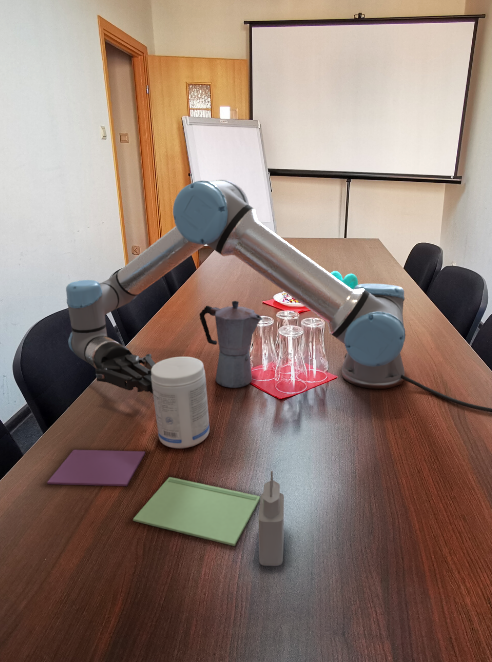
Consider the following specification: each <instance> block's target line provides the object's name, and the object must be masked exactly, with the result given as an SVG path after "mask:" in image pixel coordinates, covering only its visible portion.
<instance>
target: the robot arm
mask: <svg viewBox="0 0 492 662" xmlns="http://www.w3.org/2000/svg"><path fill="white" fill-rule="evenodd" d="M172 216H173V220H174V224H175V226H174V227H173V228H172V229H170V230H169V231H167V232H166V233H165V234H164V235H162V236H161V237H160V238H158V239H157V240H156V241H155V242H154V243H152V244H151V245H150V246H148V247H147V248H146V249H145V250H143V251H142V252H141V253H140V254H139V255H137V256H136V257H134V258H133V259H132V260H131V261H129V262H128V263H127V264H126V265H124V266H123V267H122V268H121V269H119V270H118V271H117V272H116V273H114V274H113V275H112V276H111V277H109V278H108V279H106V280H104V281H102V282H99V281H97V280H92V279H81V280H76V281H72V282H70V283H68V284H67V285H66V288H65V292H66V305H67V310H68V315H69V319H70V326H71V332H70V334H69V337H68V339H67V341H68V347H69V349H70V350H71V351H72V353H74V355H75V356H76V357H78V358H79V359H81V360H83V361H85V362H86V363H87V364H89V365H90V366H92V367H93V368H94V369H95V370H94V371H95V376H96V377H95V378H96V381H97V382H101V383H107V384H110V385H111V386H112V385H113V386H115V387H118V388H121V389H124V390H127V391H133V390H134V389H135V388H136V389H137V392H138V393H142V392H146V393H148V392H149V393H151V394H152V395H153V389H152V379H151V375H152V374H151V369H152V367H153V366H154V365H155V364H156V363H155V361H154V360H153V356H152V354H151V353H147V354H145V356H142V357H140V356H139V355H137V354H133V353H132V351H131V350H130V349H129V348H128V347H126V346H125V345H123V344H121V343H119V342H118V341H116V340H114V339H112V338H111V337H109V336H108V333H107V332H108V331H107V322H106V315H107V314H109V313H111V312H113V311H115V310H117V309H118V308H122V307H124V306H126V305H128V304H129V303H131V302H132V301H134V300H135V299H136V298H137V297H138V296H139V294H141V293H142V292H143V291H145V290H146V289H148V288H149V287H150V286H151V285H153V284H154V283H156V282H157V281H158V280H160V279H161V278H162V277H164V276H165V275H167V274H168V273H169V272H171V271H172V270H173V269H174V268H176V267H177V266H179V265H180V264H181V263H183V262H184V261H185V260H187V259H188V258H190V257H191V256H192V255H193V254H195V253H196V252H198V251H199V250H200V249H202V248H203V247H204V246H208V247H209V248H211V249H212V250H213V251H214V252H216V253H218V254H219V255H220V256H222V257H228V256H235V257H236V258H237V259H239V260H240V261H242V262H243V263H244V264H245V265H247V266H248V267H250V269H252V270H254V271H256V273H258V274H259V275H261V276H262V277H263V278H265V279H266V280H268V281H269V282H270V283H272V284H273V285H275V286H276V287H277V288H279V289H280V290H281V291H283V292H284V293H285V294H287V295H288V296H289V297H291V298H293V299H294V300H295V301H297V302H298V303H299V304H301V305H302V306H304V307H305V308H307V309H308V310H309V311H310V312H312V313H313V314H315V315H316V316H317V317H319V318H320V319H322V320H323V321H324V322H325V323H327V327H328V333H329V334H330V335H331V336H333V337H334V338H336V339H337V340H338V341H339V342H341V343H343V344H344V347H345V351H346V352H347V353H345V354H344V355H345V356H344V360H343V363H342V366H341V376H342V378H343V379H344V380H345V381H347V382H348V383H349V384H351V385H354V386H357V387H360V388H365V389H370V390H371V389H372V390H382V389H383V390H385V389H391V388H394V387H397V386H399V385H401V384H402V383H404V381H405V382H407V383H410V384H412V385H414V386H415V387H417V388H419V389H421V390H423V391H425V392H428V393H429V394H432V395H435V396H436V397H439V398H441V399H443V400H446V401H448V402H450V403H452V404H456V405H458V406H462V407H466V408H469V409H473V410H478V411H483V412H487V413H488V412H489V413H492V408H491V407H488V406H487V407H486V406H482V405H478V404H473V403H470V402H465V401H463V400H459V399H456V398H454V397H451V396H448V395H446V394H443V393H441V392H439V391H436V390H434V389H432V388H430V387H428V386H425V385H424V384H422V383H420V382H418V381H416V380H414V379H412V378H410V377H408V376H406V375H405V373H406V371H405V367H404V363H403V359H402V354H401V352H402V350H403V348H404V344H405V341H406V328H405V324H404V323H405V322H404V315H403V313H404V301H405V299H406V298H405V289H404V288H403V287H401V286H398V285H395V284H394V285H393V284H387V283H360V284H359V283H358V285H357V286H355V288H354V289H351V288H349V287H348V286H347V285H345V284H344V283H343V282H341V281H340V280H338V279H337V278H336V277H334V276H333V275H332V274H330V273H331V272H329V271H328V270H327V269H325V268H323V267H322V266H321V265H319V264H318V263H317V262H315V261H314V260H312V258H310V257H308V255H306V254H304V253H303V252H301V251H300V250H299V249H297V248H296V247H295V246H293V245H292V244H291V243H289V242H288V241H286V240H285V239H284V238H282V236H279V235H278V234H277V233H276V232H274V230H271V228H269V227H267V226H265V225H264V224H263V223H262V222H261V221H259V219H258V215H257V209H255V208H254V207H252V206H251V205H249V199H248V196H247V195H246V192H245V191H244V190H243V189H242V188H241V187H240V185H238V184H236V183H235V182H233V181H231V180H227V179H216V180H197V181H193V182H192V183H189V184H187V185H185V186H184V187H183V188H182V189H181V190H180V191H179V192H178V193H177V195H176V197H175V199H174V202H173V205H172Z"/></svg>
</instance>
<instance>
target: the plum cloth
mask: <svg viewBox="0 0 492 662" xmlns="http://www.w3.org/2000/svg"><path fill="white" fill-rule="evenodd" d="M145 455H146V450H145V451H144V450H143V451H141V450H102V449H101V450H99V449H97V450H96V449H73V450H72V451H71V452H70V454H69V455H68V456H67V457H66V459H65V460H64V461H63V462H62V463H61V465H60V466H59V467H58V468H57V469H56V471H55V472H54V473H53V474H52V476H51V477H50V478H49V479H48V481H47V482H46V484H47V485H65V486H66V485H67V486H104V487H105V486H106V487H107V486H109V487H128V485H129V484H130V481H131V480H132V478H133V476H134V474H135V472H136V471H137V470H138V468H139V466H140V463H141V462H142V460H143V459H144V457H145Z"/></svg>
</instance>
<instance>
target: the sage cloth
mask: <svg viewBox="0 0 492 662" xmlns="http://www.w3.org/2000/svg"><path fill="white" fill-rule="evenodd" d="M260 499H261V495H260V496H259V495H255V494H252V493H246V492H242V491H237V490H233V489H232V490H231V489H227V488H223V487H218V486H214V485H210V484H204V483H200V482H195V481H190V480H185V479H180V478H177V477H172V476H169V477H168V478H167V479H166V480H165V482H164V483H163V484H162V485H161V486H160V487H159V488H158V490H157V491H155V493H154V494H153V495H152V496H151V498H150V499H149V500H148V501H147V502H145V503H146V504H145V505H144V506H142V507H141V509H140V510H139V511H138V513H137V514H136V515H135V516H134V517H133V519H132V521H133V522H136V523H140V524H144V525H148V526H152V527H156V528H160V529H165V530H168V531H173V532H176V533H180V534H184V535H188V536H193V537H196V538H200V539H204V540H207V541H213V542H216V543H221V544H224V545H229V546H233V547H235V546H236V545H237V542H238V541H239V539H240V537H241V536H242V533H243V532H244V530H245V528H246V526H247V524H248V522H249V520H250V519H251V517H252V515H253V513H254V511H255V509H256V507H257V505H258V503H260Z"/></svg>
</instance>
